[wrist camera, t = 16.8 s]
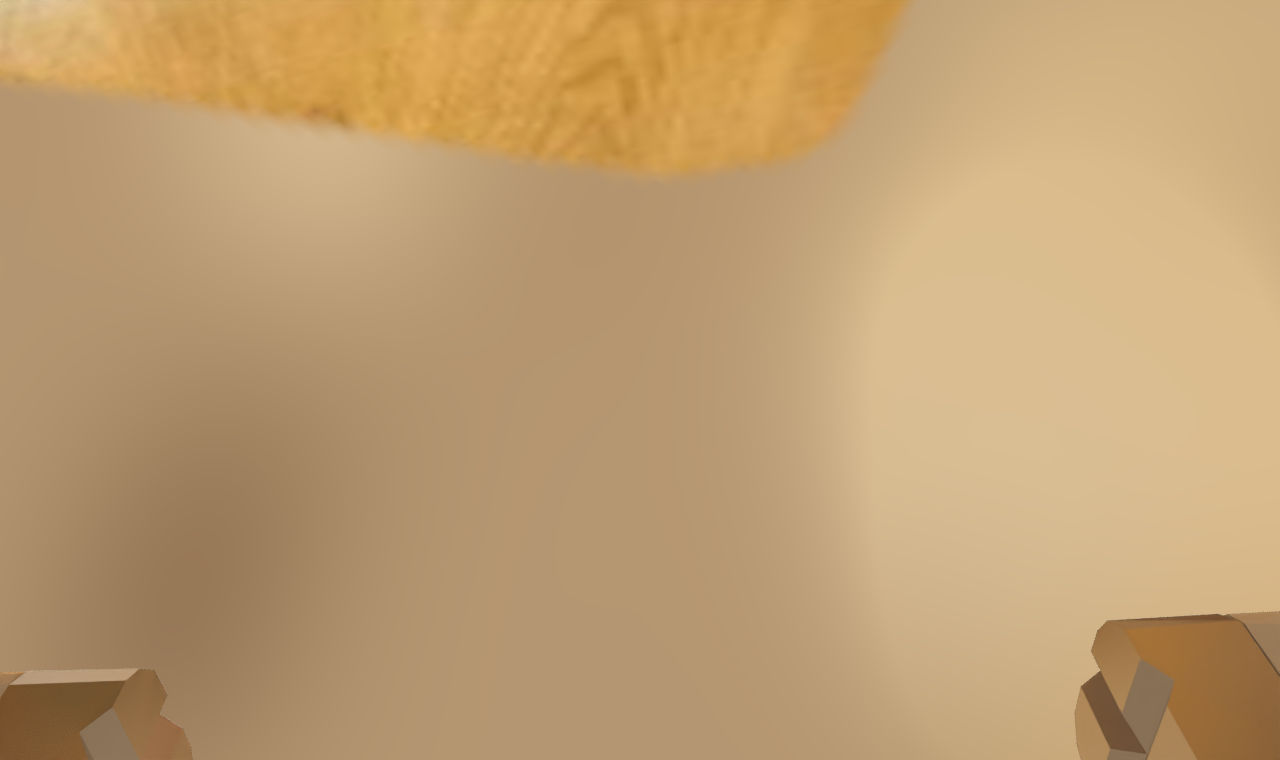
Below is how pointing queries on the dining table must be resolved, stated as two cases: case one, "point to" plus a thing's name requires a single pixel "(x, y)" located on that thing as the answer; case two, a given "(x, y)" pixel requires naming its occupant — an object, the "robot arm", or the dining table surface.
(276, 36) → the dining table surface
